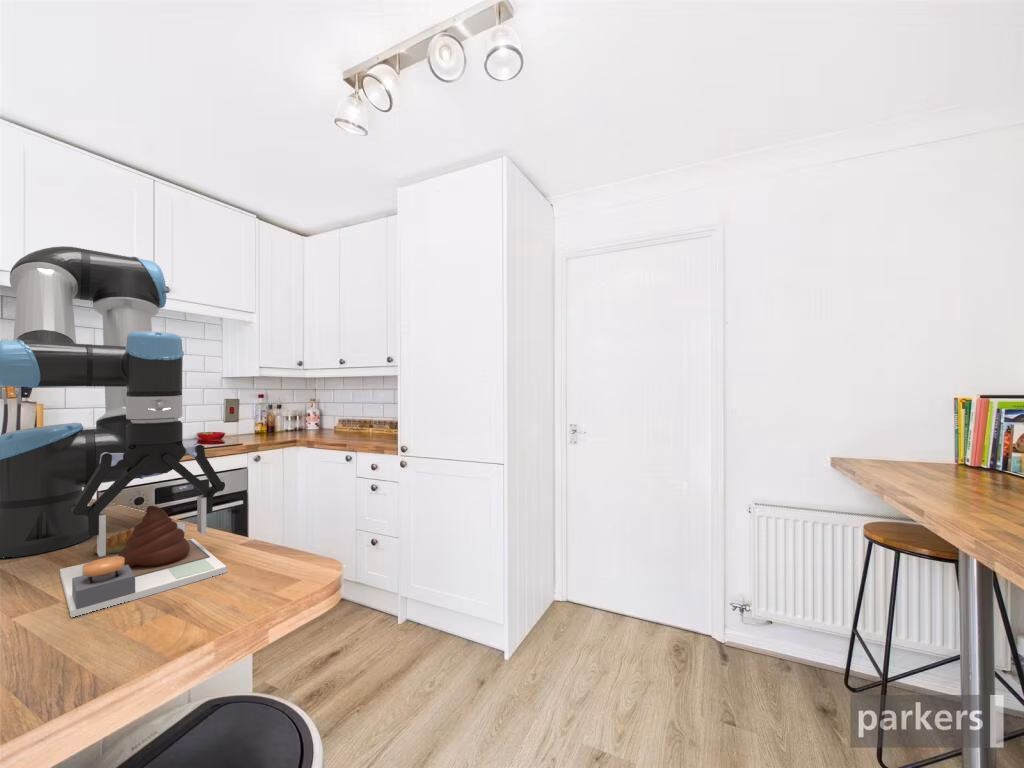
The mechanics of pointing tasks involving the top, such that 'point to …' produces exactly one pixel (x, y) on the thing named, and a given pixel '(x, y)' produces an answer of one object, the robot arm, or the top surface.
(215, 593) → the top surface
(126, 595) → the picture board
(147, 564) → the poop emoji
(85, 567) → the button
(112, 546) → the pastry
